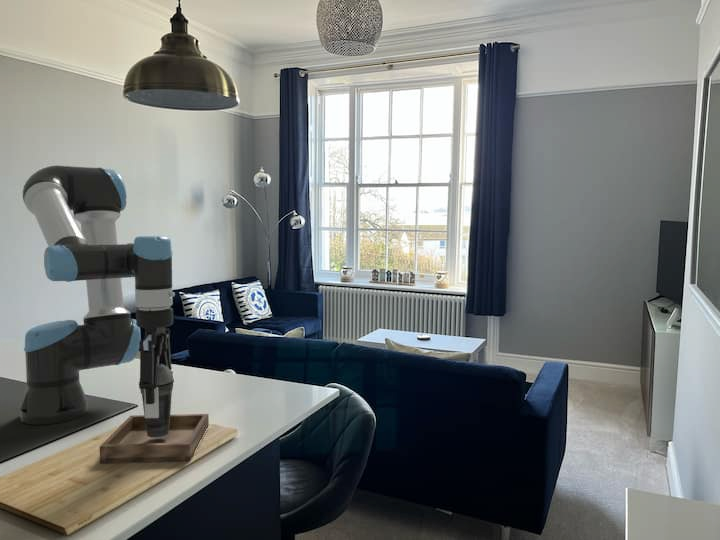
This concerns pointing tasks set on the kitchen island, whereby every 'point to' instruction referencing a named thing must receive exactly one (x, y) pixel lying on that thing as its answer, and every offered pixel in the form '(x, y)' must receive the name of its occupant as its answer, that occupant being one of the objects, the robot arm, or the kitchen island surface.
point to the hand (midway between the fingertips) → (157, 410)
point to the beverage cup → (161, 403)
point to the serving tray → (155, 440)
